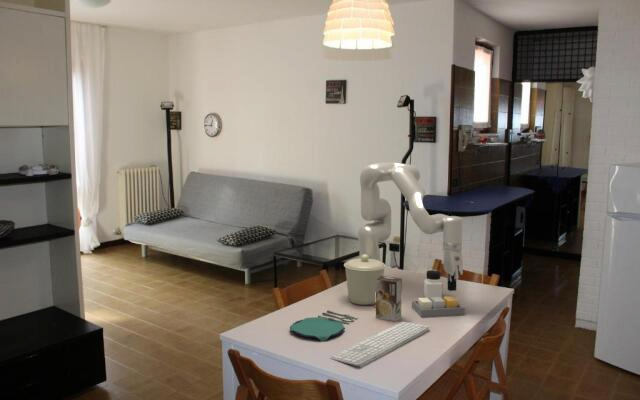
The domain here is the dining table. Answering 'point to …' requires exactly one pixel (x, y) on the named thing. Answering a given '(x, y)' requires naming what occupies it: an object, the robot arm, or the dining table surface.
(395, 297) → the coffee box
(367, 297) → the canister
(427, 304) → the key cream
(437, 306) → the key grey
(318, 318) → the cutlery set
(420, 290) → the dining table surface
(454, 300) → the yellow rectangular block
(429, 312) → the keypad frame
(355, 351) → the keyboard
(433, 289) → the medicine bottle
